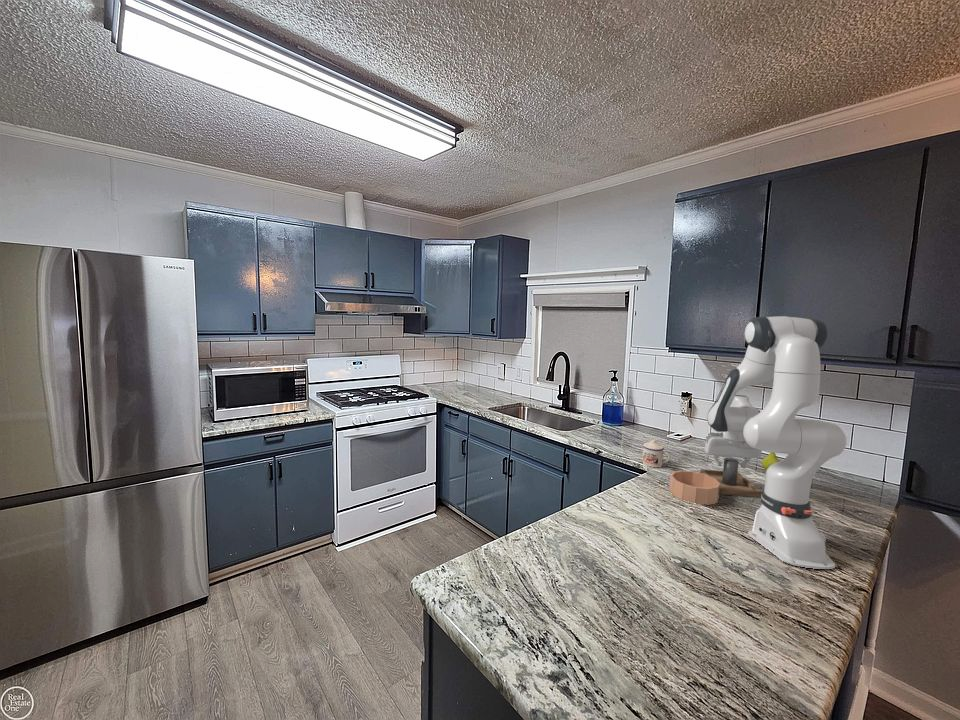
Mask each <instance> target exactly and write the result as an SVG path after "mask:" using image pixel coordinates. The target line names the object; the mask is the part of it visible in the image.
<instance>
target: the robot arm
mask: <svg viewBox="0 0 960 720" xmlns="http://www.w3.org/2000/svg"><path fill="white" fill-rule="evenodd" d="M743 334H744V340H745V343H746V344H748V345H747V348H746V351H745V354H744V358H743V359H742V361H741V362H740V364H739V365H738V366H736V368H734V369H731V370H730V372H729V373H728V374H727V376H726V378H725V380H724V381H723V384H722V386H721V388H720V390H719V393H718V394H717V397H716V399H715V401H714V403H713V404H712V406H711V407H710V409H709V410H708V412H707V418H706V419H707V420H706V421H707V424H708V425H709V427H710V428H711V429H713V430H714V431H715V432H710V433H708V434H706V435H705V444H704V452H705V453H706V454H707V455H708V456H713V458H714V460H715V465H716V467H722V464H723V463H722V461H720V460H719V459H720V457H727V458H743V459H744V460H743V462H740V468H743V469H747V467H748V464H749V462H751V459H760V458H761V457H762V451H763V452H767V453H771V452H773V453H775V454H784V455H785V454H786V455H787V456H786V457H785V458H783V459H782V460H779V461H780V462H777V463H774V464H772V465H770V466H769V467H768V469H767V470H765V478H764V489H763V490H762V495H761V498H760V502H761V505H760V506H759V508H758V509H757V510H756V511H755V516H754V520H753V526H752V530H749V531H748V532H747V536H748V535H750V536H751V537H752V538H753V539H755V540H756V541H757V542H759V543H760V544H761V545H762V546H764V547H765V548H766V549H768V550H769V551H770V552H772V553H773V554H774V555H776V556H777V557H778V558H779V559H781V560H782V561H784V562H787V563H790V564H793V565H797V566H801V567H805V568H804V569H806V568H813V569H812V570H814V569H832V568H835V567H836V563H835V562H834V561H833V560H832V559H831V557H830V556H829V555H828V553H826V542H827V541H826V540H827V537H826V535H825V534H823V533H821V532H819V529H818V528H817V524H815V522H814V520H813V519H812V516H813V515H814V511H813V510H812V506H811V502H810V500H809V499H810V492H811V488H812V483H813V479H814V477H815V475H816V473H817V472H818V471H819V469H820V468H821V467H822V466H823V465H824V464H825V463H826V462H828V461H830V460H831V459H832V458H835V457H838V456H840V454H842V452H844V450H845V448H846V446H847V436H846V434H845V432H844V430H843V429H842V428H841V427H840V426H839V425H838V424H835V423H831V422H828V421H823V420H820V419H808V418H807V419H806V418H796V416H797V414H798V412H799V411H801V410H802V409H804V408H806V407H807V408H808V407H809V406H812V405H814V404H815V403H816V402H817V401H818V399H819V397H820V385H821V384H820V383H821V355H820V349H821V348H822V347H823V346H824V345H825V344H826V342H827V340H828V336H829V331H828V327H827V326H826V324H825V323H824V321H822V320H821V319H817V318H812V317H808V318H803V317H794V316H787V315H783V316H782V315H780V316H778V315H777V316H776V315H775V316H757V317H752V318H751V319H750V320H749V321H748V322H747V323H746V325H745V327H744V333H743ZM771 380H773V383H772V388H771V389H772V390H771V395H770V397H769V400H768V402H767V404H766V405H765V407H763V409H762V410H760V409H758V408H755V407H754V406H753V405H752V403H751V402H750V398H749V396H747V395H741V394H738V392H739V391H741V390H743V389H745V388H748V387H752V386H754V385H759V384H764V383H766V382H769V381H771ZM752 538H751V539H752ZM753 539H752V540H753ZM757 542H756V543H757ZM761 545H760V546H761ZM762 546H761V547H762ZM766 549H765V550H766ZM794 562H795V563H794ZM835 569H836V568H835ZM832 570H833V569H832Z"/></svg>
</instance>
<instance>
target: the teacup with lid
mask: <svg viewBox="0 0 960 720" xmlns="http://www.w3.org/2000/svg"><path fill="white" fill-rule="evenodd" d="M664 450H665V446H663V445H662V444H661V443H659V442H657V440H656V439H655V440H654V439H651V441H648V442H644V443H643V445H642V462H643V463H642V464H643V465H644V466H645V465H646V467H648V466H649V468H653V467H659V466H662V467H663V464H664V463H668V462H669V461H670V459H671V455H670V454H669V452H667V451H664ZM664 454H665V455H666V456H667V460H664ZM650 466H651V467H650ZM659 468H660V467H659Z"/></svg>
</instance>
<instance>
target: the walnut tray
mask: <svg viewBox="0 0 960 720" xmlns="http://www.w3.org/2000/svg"><path fill="white" fill-rule="evenodd" d="M699 473H702V474H706V475H708V476H710V477H713V478H715V479H716V480H717V481H718V482H719V483H720V491H719V494H721V495H720V496H725V495H732V496H731V497H738V496H744V497H743V498H751V497H756V498H755V499H761V495H762V491H763V490H762V491H761V489H759V488H758V487H757V486H755V484H753V483H752V482H751V481H749V480H748V479H747V478H745V476H744V475H742V474H740V473H739V472H738V473H737V483H736V486H729V485H725V484H723V483H722V478H723V470H719V469H718V470H717V469H716V470H714V469H699Z"/></svg>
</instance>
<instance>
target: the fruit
mask: <svg viewBox="0 0 960 720" xmlns="http://www.w3.org/2000/svg"><path fill="white" fill-rule="evenodd" d="M780 461H781V460H779V459H778V457H777V453H773V452H769V453H768V456H766V457H764V458H762V460H761V466H762V467H763V469H764V470H765V471H767V469H768V467H769V466H770V465H772V464H774V463H777V462H780Z"/></svg>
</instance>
